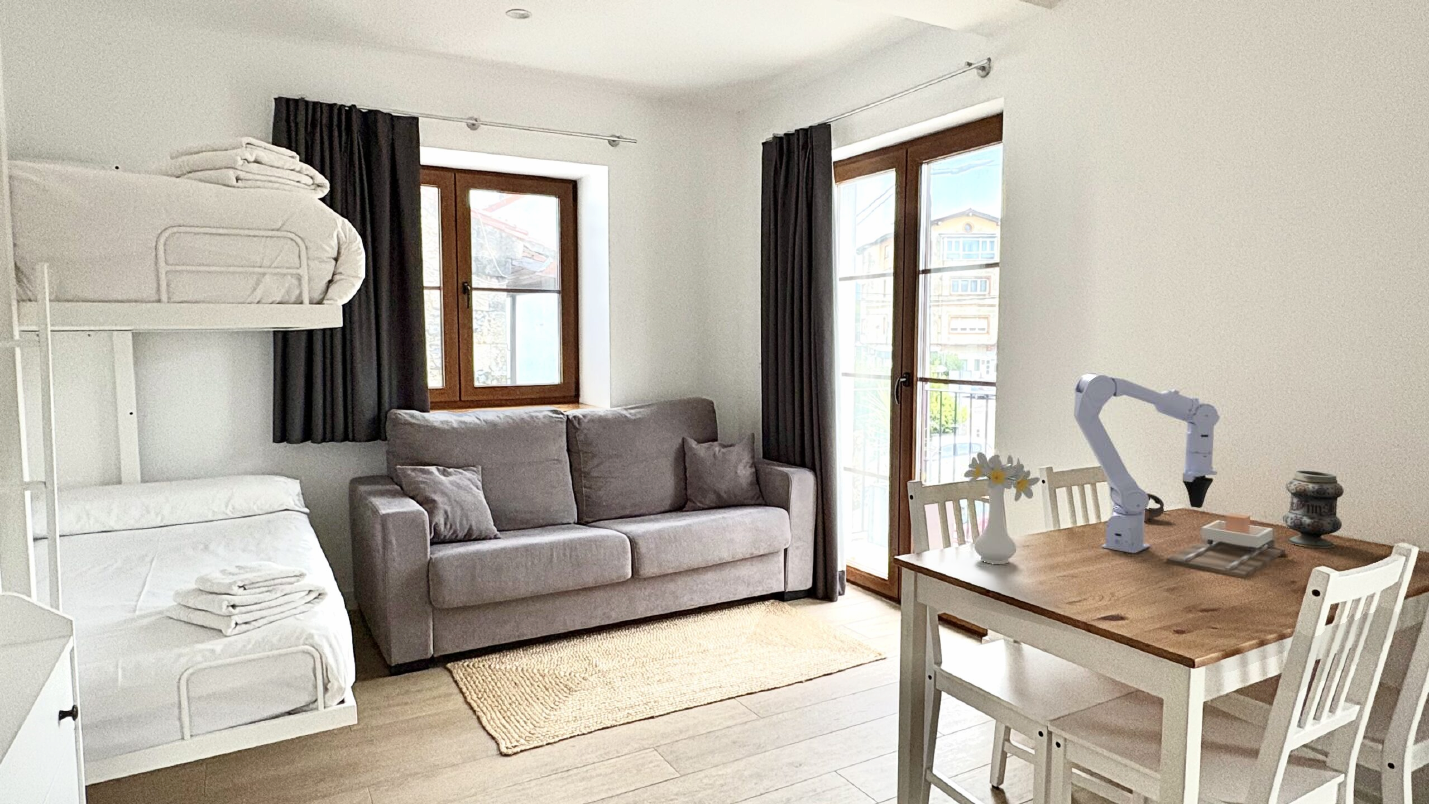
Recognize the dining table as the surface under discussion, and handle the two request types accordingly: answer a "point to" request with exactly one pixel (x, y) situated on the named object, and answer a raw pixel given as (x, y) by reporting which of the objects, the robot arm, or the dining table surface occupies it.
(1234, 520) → the terracotta block
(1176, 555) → the track board
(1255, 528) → the white square tray
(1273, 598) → the dining table surface
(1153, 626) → the dining table surface
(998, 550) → the flower vase
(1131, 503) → the robot arm
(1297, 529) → the apothecary jar
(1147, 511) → the pottery mug
